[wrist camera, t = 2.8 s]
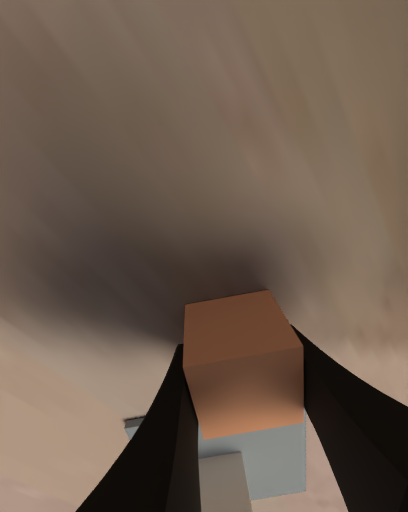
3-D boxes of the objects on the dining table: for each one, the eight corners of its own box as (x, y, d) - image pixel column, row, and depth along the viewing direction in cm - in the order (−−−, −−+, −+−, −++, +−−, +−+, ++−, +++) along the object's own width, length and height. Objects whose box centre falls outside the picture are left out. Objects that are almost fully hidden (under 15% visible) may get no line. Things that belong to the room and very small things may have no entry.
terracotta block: (268, 289, 12) (303, 346, 8) (273, 352, 14) (303, 422, 10) (185, 304, 12) (182, 367, 8) (200, 365, 14) (203, 439, 10)
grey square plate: (302, 389, 15) (305, 397, 15) (303, 483, 20) (305, 491, 19) (126, 420, 15) (124, 428, 15) (167, 506, 20) (167, 514, 19)
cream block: (241, 451, 17) (256, 534, 13) (247, 483, 18) (262, 565, 15) (181, 462, 17) (178, 547, 13) (192, 492, 18) (193, 576, 15)
